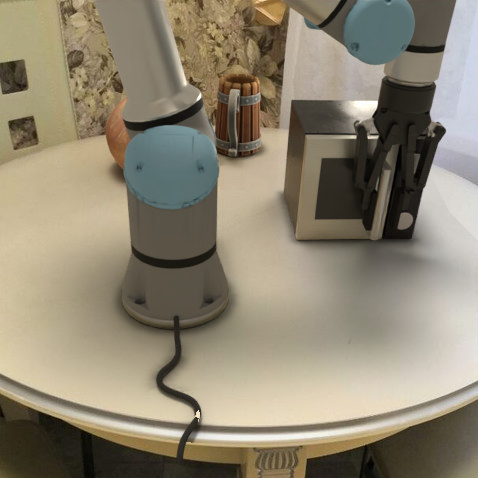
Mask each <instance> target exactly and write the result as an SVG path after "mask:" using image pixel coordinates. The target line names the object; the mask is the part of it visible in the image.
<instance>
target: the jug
mask: <svg viewBox="0 0 478 478" xmlns="http://www.w3.org/2000/svg"><path fill="white" fill-rule="evenodd" d="M126 102H127V97H124V98H123V99H122V100H121V101H119V102H118V103H117V104H116V105H115V106H114V108H113V109H112V110H111V113H110V114H109V115H108V116H109V117H108V118H107V120H106V124H105V129H104V130H105V141H106V144H107V147H108V150H109V153H110V154H111V156H112V158H113V159H114V161H115V162H116V163H117V164H118V166H119V167H120V168H121V170H123V167H124V161H125V151H126V147H127V145H128V143H129V142H130V139H129V136H128V133H127V130H126V127H125V124H124V121H123V118H122V115H121V112H122V110H123V108H124V106H125V104H126Z"/></svg>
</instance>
